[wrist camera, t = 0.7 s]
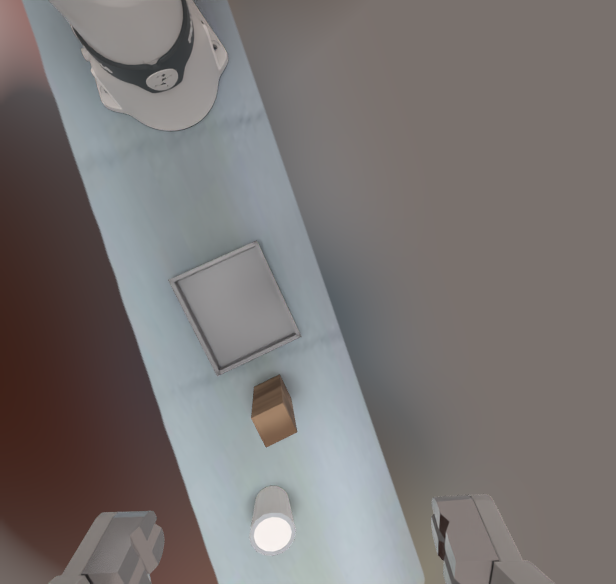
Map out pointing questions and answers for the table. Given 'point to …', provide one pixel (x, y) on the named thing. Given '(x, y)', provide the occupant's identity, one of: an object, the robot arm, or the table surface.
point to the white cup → (272, 522)
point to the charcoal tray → (235, 308)
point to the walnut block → (273, 411)
